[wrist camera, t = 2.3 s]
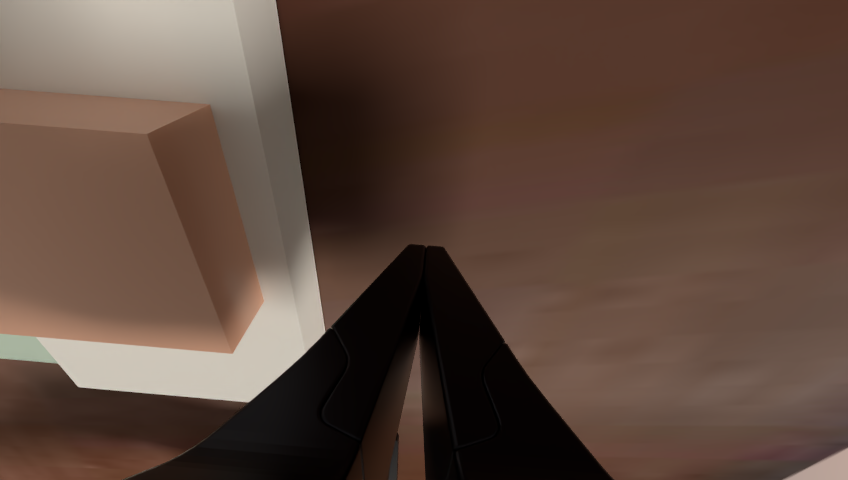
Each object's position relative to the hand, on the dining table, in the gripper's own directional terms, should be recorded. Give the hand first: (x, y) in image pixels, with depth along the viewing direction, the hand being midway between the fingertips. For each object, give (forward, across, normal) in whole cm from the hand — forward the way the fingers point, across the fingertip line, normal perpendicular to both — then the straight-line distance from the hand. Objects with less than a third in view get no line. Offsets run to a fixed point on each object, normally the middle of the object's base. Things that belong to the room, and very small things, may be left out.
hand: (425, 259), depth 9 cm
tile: (+1, +9, 0) cm, 9 cm away
